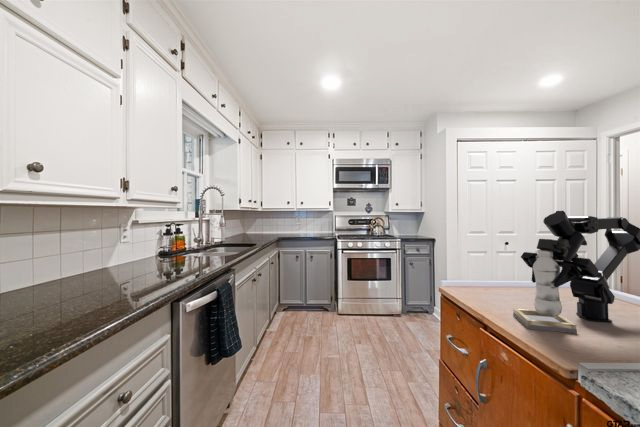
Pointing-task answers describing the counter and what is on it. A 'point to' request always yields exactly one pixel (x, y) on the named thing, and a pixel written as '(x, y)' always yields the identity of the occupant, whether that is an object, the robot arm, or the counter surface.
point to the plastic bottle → (546, 284)
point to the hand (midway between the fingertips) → (543, 284)
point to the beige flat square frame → (544, 321)
